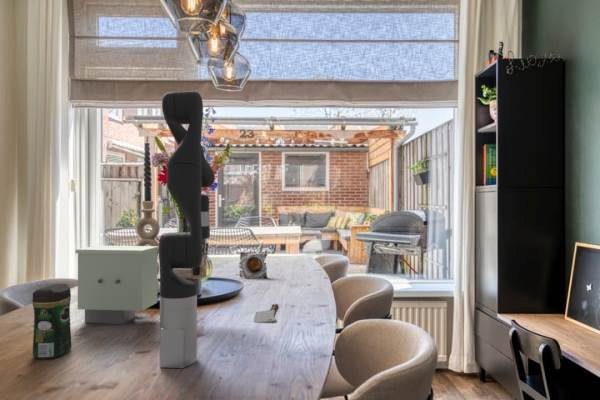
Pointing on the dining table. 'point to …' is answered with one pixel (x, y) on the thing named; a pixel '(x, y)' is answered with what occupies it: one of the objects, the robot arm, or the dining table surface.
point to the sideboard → (116, 282)
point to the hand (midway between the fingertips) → (198, 273)
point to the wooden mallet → (190, 271)
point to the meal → (253, 265)
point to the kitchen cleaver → (266, 315)
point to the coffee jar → (51, 321)
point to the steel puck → (141, 319)
